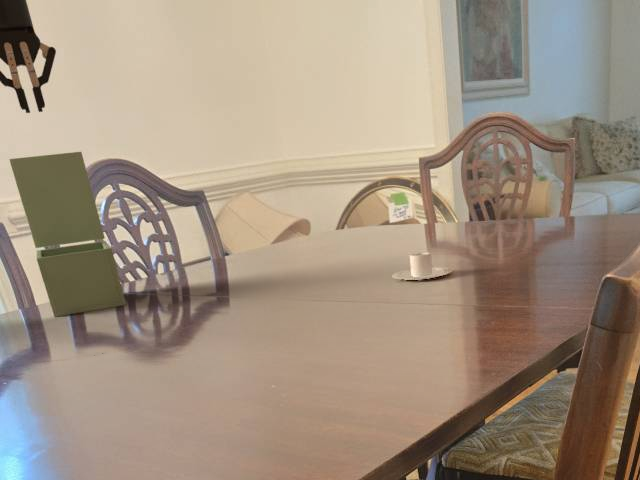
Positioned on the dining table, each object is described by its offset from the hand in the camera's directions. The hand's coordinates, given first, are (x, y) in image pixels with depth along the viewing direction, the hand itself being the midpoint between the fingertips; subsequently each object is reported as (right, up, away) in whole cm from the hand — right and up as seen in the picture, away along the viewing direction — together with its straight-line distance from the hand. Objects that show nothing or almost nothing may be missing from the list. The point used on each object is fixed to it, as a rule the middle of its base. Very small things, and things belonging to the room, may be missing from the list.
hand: (34, 111), depth 141 cm
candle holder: (+72, -27, +11) cm, 77 cm away
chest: (+2, -30, +18) cm, 35 cm away
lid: (-3, -9, +16) cm, 19 cm away
